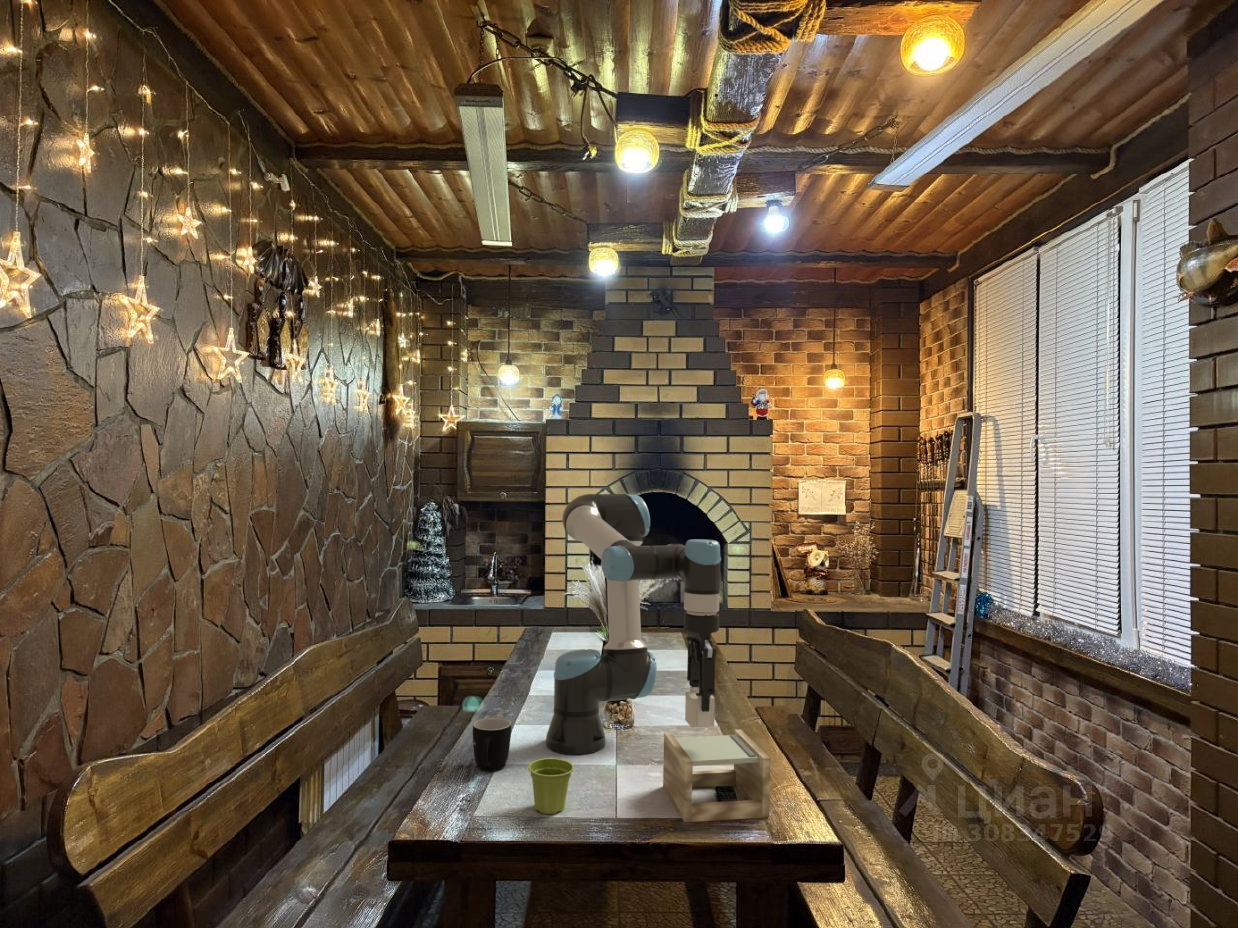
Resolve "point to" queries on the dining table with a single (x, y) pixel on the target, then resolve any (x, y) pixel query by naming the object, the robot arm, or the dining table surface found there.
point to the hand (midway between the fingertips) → (699, 721)
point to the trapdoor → (716, 750)
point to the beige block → (692, 709)
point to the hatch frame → (716, 784)
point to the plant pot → (550, 783)
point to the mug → (491, 743)
